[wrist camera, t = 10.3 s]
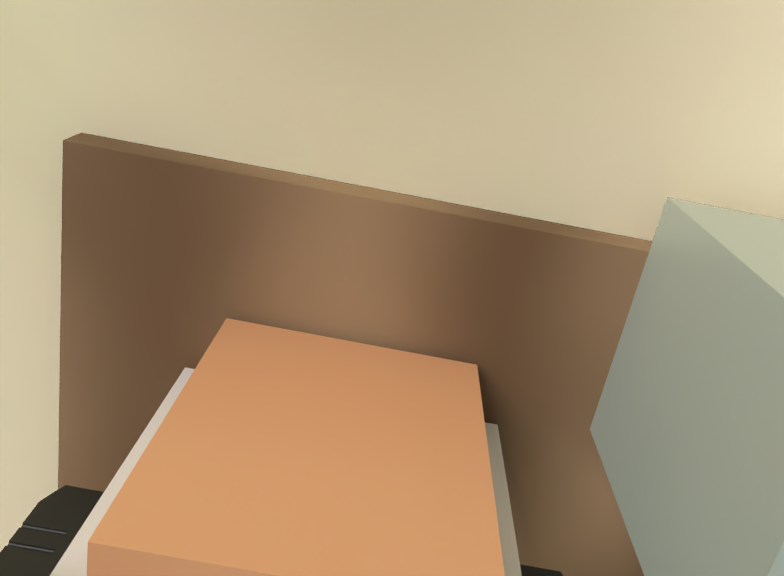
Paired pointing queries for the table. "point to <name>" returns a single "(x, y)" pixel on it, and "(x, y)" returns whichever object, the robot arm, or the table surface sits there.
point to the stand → (343, 314)
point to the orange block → (309, 467)
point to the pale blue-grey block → (701, 398)
